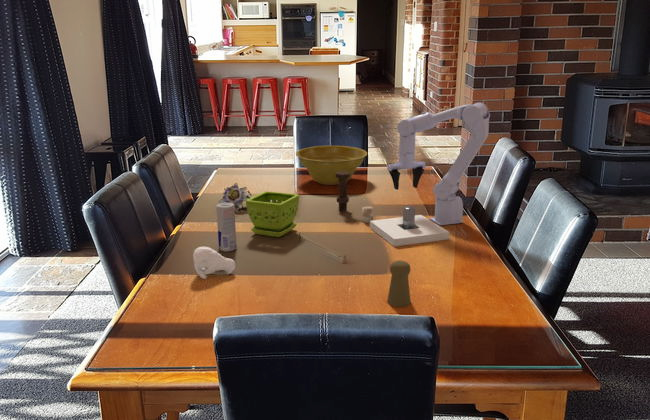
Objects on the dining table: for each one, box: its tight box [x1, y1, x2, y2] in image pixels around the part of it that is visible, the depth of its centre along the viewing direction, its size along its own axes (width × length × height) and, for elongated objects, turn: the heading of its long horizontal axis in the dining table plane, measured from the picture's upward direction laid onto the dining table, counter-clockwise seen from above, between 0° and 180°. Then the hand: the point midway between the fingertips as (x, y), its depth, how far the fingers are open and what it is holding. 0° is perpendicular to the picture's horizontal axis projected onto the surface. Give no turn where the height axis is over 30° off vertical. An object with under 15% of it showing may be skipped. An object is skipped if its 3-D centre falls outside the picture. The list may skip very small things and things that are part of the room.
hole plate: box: [369, 214, 450, 247], centre depth 205 cm, size 20×20×2 cm
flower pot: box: [245, 191, 300, 238], centre depth 206 cm, size 14×14×13 cm
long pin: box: [402, 206, 416, 230], centre depth 204 cm, size 4×4×9 cm
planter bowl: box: [295, 145, 368, 186], centre depth 272 cm, size 32×32×13 cm
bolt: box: [336, 171, 350, 212], centre depth 229 cm, size 6×5×15 cm
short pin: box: [361, 205, 374, 224], centre depth 218 cm, size 4×4×5 cm
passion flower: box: [218, 182, 253, 210], centre depth 234 cm, size 11×11×12 cm
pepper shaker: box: [386, 260, 412, 308], centre depth 153 cm, size 6×6×11 cm
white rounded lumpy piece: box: [192, 246, 236, 280], centre depth 172 cm, size 6×8×12 cm
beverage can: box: [215, 202, 237, 253], centre depth 190 cm, size 6×6×15 cm
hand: (405, 188), depth 222 cm, fingers open, 7 cm apart
